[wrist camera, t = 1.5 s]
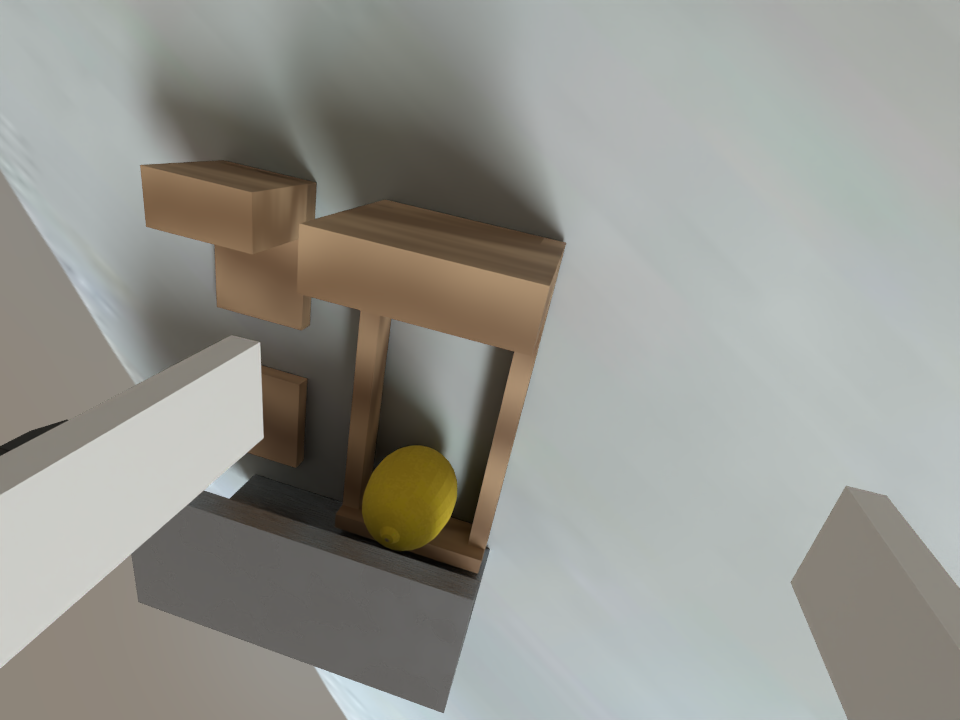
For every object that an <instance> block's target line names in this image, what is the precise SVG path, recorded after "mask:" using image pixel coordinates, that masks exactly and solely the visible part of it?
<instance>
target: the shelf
mask: <svg viewBox="0 0 960 720" xmlns="http://www.w3.org/2000/svg"><path fill="white" fill-rule="evenodd" d="M342 504H343V502H340V501H337V500H333V499H330V498H327V497H324V496H321V495H318V494H315V493H312V492H308V491H305V490H302V489H299V488H296V487H293V486H290V485H286V484H283V483H280V482H277V481H274V480H271V479H268V478H265V477H261V476H258V475H254V476H253V477H252V478H251V479H250V480H249V481H248V482H246V483H245V484H244V485H243V486H242V487H241V488H240V489H239V490H238V491H237V492H236V493H235V494H234V495H233V496H232V497H231V498H230V499H228V498H225V497H222V496H219V495H216V494H213V493H210V492H207V491H203V492H201V493H200V494H199V495H198V496H197V497H196V498H195V499H193V500H192V501H191V502H190V503H189V504H188V505H187V506H185V507H184V508H183V509H182V510H181V511H180V512H179V513H177V514H176V515H175V516H174V517H173V518H172V519H170V520H169V521H168V522H167V523H166V524H165V525H164V526H162V527H161V528H160V529H159V530H158V531H157V532H156V533H154V534H153V535H152V536H151V537H150V538H149V539H148V540H146V541H145V542H144V543H143V544H142V545H141V546H140V547H138V548H137V549H136V550H135V551H134V552H133V553H132V554H131V555H132V561H133V568H134V575H135V581H136V588H137V595H138V602H140V603H143V604H146V605H148V606H151V607H154V608H156V609H159V610H162V611H164V612H168V613H171V614H173V615H175V616H178V617H181V618H184V619H186V620H189V621H192V622H195V623H197V624H200V625H203V626H206V627H209V628H211V629H214V630H217V631H219V632H222V633H225V634H228V635H231V636H233V637H236V638H239V639H241V640H244V641H247V642H250V643H253V644H255V645H258V646H261V647H263V648H266V649H269V650H272V651H275V652H277V653H280V654H283V655H285V656H288V657H291V658H294V659H296V660H299V661H302V662H305V663H307V664H310V665H313V666H315V667H318V668H321V669H324V670H326V671H329V672H332V673H335V674H337V675H340V676H343V677H346V678H348V679H351V680H354V681H357V682H359V683H362V684H365V685H368V686H370V687H373V688H376V689H379V690H381V691H384V692H387V693H390V694H392V695H395V696H398V697H401V698H403V699H406V700H409V701H412V702H414V703H417V704H420V705H423V706H425V707H428V708H431V709H434V710H436V711H439V712H442V713H444V710H445V707H446V703H447V700H448V696H449V693H450V689H451V686H452V682H453V679H454V675H455V671H456V668H457V664H458V661H459V657H460V654H461V650H462V647H463V643H464V640H465V636H466V632H467V629H468V625H469V622H470V618H471V615H472V611H473V608H474V604H475V600H476V597H477V593H478V590H479V586H480V583H481V579H482V576H483V572H484V569H485V565H486V561H487V558H488V554H489V550H490V549H487V548H485V552H484V555H483V559H482V562H481V565H480V569H479V572H478V574H477V573H474V572H471V571H468V570H465V569H462V568H459V567H456V566H453V565H450V564H446V563H443V562H440V561H437V560H434V559H431V558H428V557H425V556H422V555H419V554H416V553H413V552H410V551H399V550H393V549H390V548H387V547H385V546H383V545H381V544H380V543H379V542H377V541H376V540H373V539H370V538H367V537H364V536H361V535H358V534H355V533H351V532H348V531H345V530H342V529H339V528H336V527H335V517H336V513H337V512H338V510H339V509H340V507H341V506H342Z"/></svg>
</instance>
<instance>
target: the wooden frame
mask: <svg viewBox="0 0 960 720" xmlns="http://www.w3.org/2000/svg"><path fill="white" fill-rule="evenodd" d="M565 245H566V243H565V242H561V241H557V240H553V239H549V238H544V237H540V236H536V235H532V234H528V233H524V232H519V231H515V230H511V229H507V228H503V227H498V226H494V225H490V224H486V223H482V222H477V221H473V220H469V219H465V218H461V217H456V216H452V215H448V214H444V213H440V212H435V211H431V210H427V209H423V208H419V207H414V206H410V205H406V204H402V203H398V202H393V201H389V200H382V201H378V202H374V203H371V204H367V205H364V206H360V207H356V208H353V209H349V210H346V211H342V212H338V213H335V214H331V215H328V216H324V217H320V218H317V219H313V220H310V221H306V222H303V223H299V241H298V271H297V293H298V294H302V295H305V296H309V297H313V298H316V299H320V300H324V301H328V302H331V303H335V304H339V305H343V306H346V307H350V308H354V309H357V310H361V311H360V321H359V332H358V343H357V354H356V364H355V375H354V386H353V397H352V408H351V418H350V429H349V440H348V451H347V461H346V472H345V483H344V494H343V504H342V506H341V507H340V509H339V510H338V512H337V513H336V517H335V527H336V528H339V529H342V530H345V531H348V532H351V533H355V534H358V535H361V536H364V537H367V538H370V539H373V540H375V539H374V538H373V537H372V535H371V534H370V533H369V531H368V529H367V527H366V525H365V523H364V519H363V515H362V503H363V495H364V492H365V489H366V486H367V484H368V481H369V479H370V477H371V475H372V473H373V465H374V456H375V448H376V440H377V432H378V424H379V415H380V407H381V399H382V391H383V382H384V374H385V366H386V358H387V350H388V341H389V333H390V325H391V319H395V320H398V321H402V322H406V323H410V324H413V325H417V326H421V327H425V328H428V329H432V330H436V331H439V332H443V333H447V334H451V335H454V336H458V337H462V338H466V339H469V340H473V341H477V342H480V343H484V344H488V345H492V346H495V347H499V348H503V349H506V350H510V351H514V355H513V359H512V363H511V367H510V371H509V376H508V380H507V384H506V388H505V392H504V396H503V400H502V405H501V409H500V413H499V417H498V421H497V425H496V429H495V434H494V438H493V442H492V446H491V450H490V454H489V458H488V463H487V467H486V471H485V475H484V479H483V483H482V487H481V492H480V496H479V500H478V504H477V508H476V512H475V516H474V521H473V524H471V523H467V522H464V521H461V520H458V519H455V518H452V517H450V519H449V520H448V522H447V523H446V525H445V526H444V527H443V529H442V530H441V531H440V533H439V534H438V535H437V536H436V537H435V538H434V539H433V540H431V541H430V542H429V543H427V544H426V545H424V546H422V547H420V548H417V549H414V550H408V551H410V552H413V553H416V554H419V555H422V556H425V557H428V558H431V559H434V560H437V561H440V562H443V563H446V564H450V565H453V566H456V567H459V568H462V569H465V570H468V571H471V572H474V573H477V574H478V572H479V569H480V565H481V562H482V559H483V555H484V552H485V548H486V545H487V541H488V538H489V534H490V530H491V526H492V522H493V519H494V515H495V511H496V507H497V503H498V500H499V496H500V492H501V488H502V485H503V481H504V477H505V473H506V469H507V466H508V462H509V458H510V454H511V450H512V447H513V443H514V439H515V435H516V431H517V428H518V424H519V420H520V416H521V412H522V409H523V405H524V401H525V397H526V393H527V390H528V386H529V382H530V378H531V374H532V371H533V367H534V363H535V359H536V355H537V352H538V348H539V344H540V340H541V336H542V333H543V329H544V325H545V321H546V317H547V314H548V310H549V306H550V302H551V298H552V295H553V291H554V287H555V283H556V279H557V276H558V272H559V268H560V264H561V260H562V257H563V253H564V249H565Z"/></svg>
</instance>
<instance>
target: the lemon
mask: <svg viewBox="0 0 960 720" xmlns="http://www.w3.org/2000/svg"><path fill="white" fill-rule="evenodd" d="M456 499H457V479H456V476H455V472H454V470H453V468H452V466H451V464H450V463H449V461H448V460H447V459H446V458H445V457H444V456H443V455H442V454H441V453H439V452H438V451H436V450H434V449H432V448H430V447H425V446H421V445H413V446H407V447H403V448H400V449H398V450H396V451H394V452H393V453H391V454H389V455H388V456H387V457H385V458H384V459H383V460H382V462H381V463H380V464H379V465H378V466H377V467H376V469H375V470H374V471H373V473H372V475H371V477H370V479H369V481H368V484H367V486H366V489H365V492H364V495H363V503H362V515H363V519H364V523H365V525H366V527H367V529H368V531H369V533H370V534H371V535H372V537H373V538H374V539H375V540H376V541H377V542H379V543H380V544H381V545H383V546H385V547H387V548H390V549H393V550H399V551H408V550H414V549H417V548H420V547H422V546H424V545H426V544H427V543H429V542H430V541H431V540H433V539H434V538H435V537H436V536H437V535H438V534H439V533H440V531H441V530H442V529H443V527H444V526H445V525H446V523H447V522H448V520H449V519H450V517H451V515H452V512H453V509H454V506H455V503H456Z"/></svg>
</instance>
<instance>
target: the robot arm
mask: <svg viewBox="0 0 960 720" xmlns="http://www.w3.org/2000/svg"><path fill="white" fill-rule="evenodd" d="M263 438H264V434H263V406H262V378H261V350H260V342H258V341H254V340H250V339H246V338H242V337H237V336H233V335H230V336H229V337H227V338H225V339H223V340H221V341H219V342H217V343H215V344H213V345H211V346H209V347H208V348H206V349H204V350H202V351H200V352H198V353H196V354H194V355H192V356H190V357H189V358H187V359H185V360H183V361H181V362H179V363H177V364H175V365H173V366H171V367H169V368H168V369H166V370H164V371H162V372H160V373H158V374H156V375H154V376H152V377H150V378H148V379H147V380H145V381H143V382H141V383H139V384H137V385H135V386H133V387H131V388H129V389H127V390H126V391H124V392H122V393H120V394H118V395H116V396H115V397H112V398H111V399H108V400H106V401H105V402H103V403H101V404H99V405H97V406H95V407H93V408H91V409H89V410H87V411H85V412H84V413H82V414H80V415H78V416H76V417H74V418H72V419H70V420H64V421H61V422H58V423H55V424H51V425H48V426H45V427H42V428H38V429H35V430H32V431H29V432H27V433H25V434H23V435H21V436H20V437H17V438H16V439H14V440H12V441H10V442H8V443H6V444H4V445H2V446H0V668H1V667H2V666H3V665H5V664H6V663H7V662H8V661H9V660H10V659H11V658H13V657H14V656H15V655H16V654H17V653H18V652H20V651H21V650H22V649H23V648H24V647H25V646H26V645H28V643H30V642H31V641H32V640H33V639H34V638H35V637H37V636H38V635H39V634H40V633H41V632H42V631H43V630H45V629H46V628H47V627H48V626H49V625H50V624H51V623H53V622H54V621H55V620H56V619H57V618H58V617H60V615H62V614H63V613H64V612H65V611H66V610H68V609H69V608H70V607H71V606H72V605H73V604H74V603H76V601H78V600H79V599H80V598H81V597H82V596H83V595H85V594H86V593H87V592H88V591H89V590H90V589H91V588H93V587H94V586H95V585H96V584H97V583H98V582H99V581H101V580H102V579H103V578H104V577H105V576H106V575H108V574H109V573H110V572H111V571H112V570H113V569H114V568H115V567H117V566H118V565H119V564H120V563H121V562H122V561H124V559H126V558H127V557H128V556H129V555H130V554H132V553H133V552H134V551H135V550H136V549H137V548H138V547H140V546H141V545H142V544H143V543H144V542H145V541H146V540H148V539H149V538H150V537H151V536H152V535H153V534H154V533H156V532H157V531H158V530H159V529H160V528H161V527H162V526H164V525H165V524H166V523H167V522H168V521H169V520H170V519H172V518H173V517H174V516H175V515H176V514H177V513H179V512H180V511H181V510H182V509H183V508H184V507H185V506H187V505H188V504H189V503H190V502H191V501H192V500H193V499H195V498H196V497H197V496H198V495H199V494H200V493H201V492H203V491H204V490H205V489H206V488H207V487H208V486H209V485H211V484H212V483H213V482H214V481H215V480H216V479H217V478H219V477H220V476H221V475H222V474H223V473H224V472H225V471H227V470H228V469H229V468H230V467H231V466H232V465H233V464H235V463H236V462H237V461H238V460H239V459H240V458H241V457H243V456H244V455H245V454H246V453H247V452H248V451H249V450H251V449H252V448H253V447H254V446H255V445H256V444H257V443H259V442H260V441H261V440H262V439H263ZM791 584H792V587H793V589H794V592H795V594H796V596H797V599H798V601H799V604H800V606H801V608H802V611H803V613H804V616H805V618H806V620H807V623H808V625H809V627H810V630H811V632H812V635H813V637H814V639H815V642H816V644H817V647H818V649H819V651H820V654H821V656H822V659H823V661H824V663H825V666H826V668H827V671H828V673H829V675H830V678H831V680H832V683H833V685H834V687H835V690H836V692H837V695H838V697H839V699H840V702H841V704H842V707H843V709H844V711H845V714H846V716H847V719H848V720H960V588H959V587H958V586H957V585H956V583H955V582H954V581H953V580H952V578H951V577H950V576H949V574H948V573H947V572H946V571H945V569H944V568H943V567H942V566H941V564H940V563H939V562H938V560H937V559H936V558H935V557H934V555H933V554H932V553H931V552H930V550H929V549H928V548H927V546H926V545H925V544H924V543H923V541H922V540H921V539H920V538H919V536H918V535H917V534H916V533H915V531H914V530H913V529H912V527H911V526H910V525H909V524H908V522H907V521H906V520H905V519H904V517H903V516H902V515H901V513H900V512H899V511H898V510H897V508H896V507H895V506H894V505H893V503H892V502H891V501H890V499H889V498H888V497H887V496H885V495H881V494H877V493H873V492H869V491H865V490H861V489H857V488H853V487H849V486H846V487H845V488H844V490H843V492H842V494H841V495H840V497H839V499H838V501H837V502H836V504H835V506H834V508H833V509H832V511H831V513H830V515H829V516H828V518H827V520H826V522H825V523H824V525H823V527H822V529H821V530H820V532H819V534H818V536H817V537H816V539H815V541H814V543H813V544H812V546H811V548H810V550H809V551H808V553H807V555H806V557H805V558H804V560H803V562H802V564H801V565H800V567H799V569H798V570H797V572H796V574H795V576H794V577H793V579H792V581H791Z"/></svg>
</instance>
